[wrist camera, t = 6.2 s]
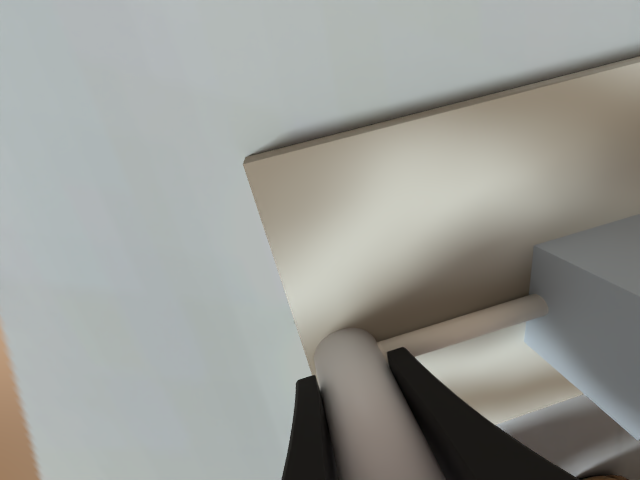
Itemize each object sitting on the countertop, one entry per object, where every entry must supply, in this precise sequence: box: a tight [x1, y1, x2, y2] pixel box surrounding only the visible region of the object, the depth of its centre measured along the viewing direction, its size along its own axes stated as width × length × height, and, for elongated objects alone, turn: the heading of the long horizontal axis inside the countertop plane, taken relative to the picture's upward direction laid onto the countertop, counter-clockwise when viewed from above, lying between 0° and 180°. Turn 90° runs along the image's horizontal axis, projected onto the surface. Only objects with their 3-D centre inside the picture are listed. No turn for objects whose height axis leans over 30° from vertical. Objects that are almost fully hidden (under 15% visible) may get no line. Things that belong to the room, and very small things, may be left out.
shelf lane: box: [243, 56, 640, 425], centre depth 12 cm, size 16×26×4 cm, turn 102°
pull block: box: [314, 214, 640, 480], centre depth 10 cm, size 5×14×6 cm, turn 102°
